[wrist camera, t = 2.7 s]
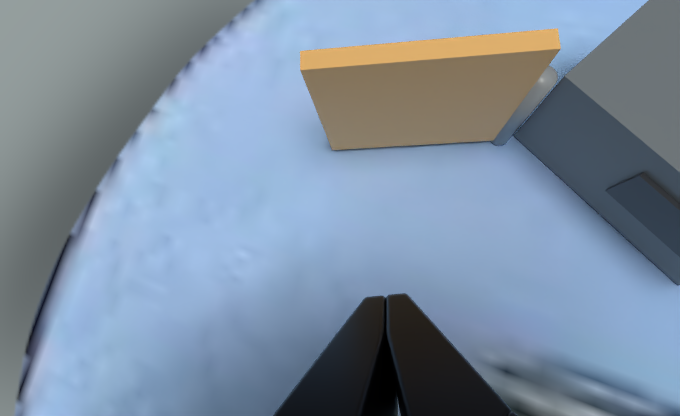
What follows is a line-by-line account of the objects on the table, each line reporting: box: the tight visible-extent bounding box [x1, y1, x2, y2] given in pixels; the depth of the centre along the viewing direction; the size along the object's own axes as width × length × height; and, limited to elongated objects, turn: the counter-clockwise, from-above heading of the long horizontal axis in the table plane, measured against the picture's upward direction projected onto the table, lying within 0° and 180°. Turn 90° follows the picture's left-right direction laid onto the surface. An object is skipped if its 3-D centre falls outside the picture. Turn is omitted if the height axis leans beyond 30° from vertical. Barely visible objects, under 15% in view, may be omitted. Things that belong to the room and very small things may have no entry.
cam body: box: [514, 0, 680, 285], centre depth 16 cm, size 6×10×7 cm, turn 41°
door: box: [300, 29, 561, 150], centre depth 17 cm, size 9×1×8 cm, turn 91°
